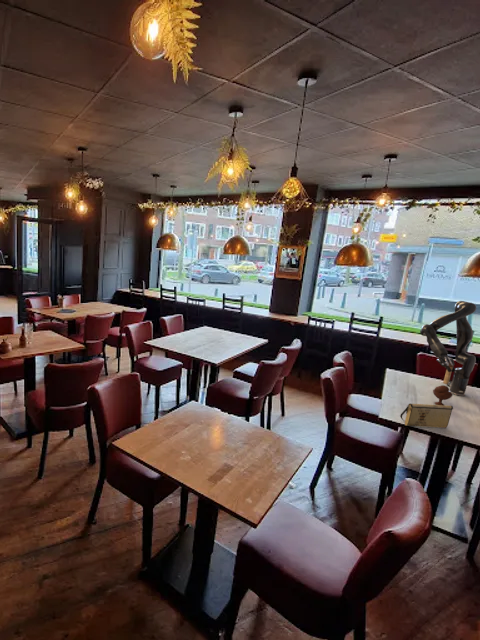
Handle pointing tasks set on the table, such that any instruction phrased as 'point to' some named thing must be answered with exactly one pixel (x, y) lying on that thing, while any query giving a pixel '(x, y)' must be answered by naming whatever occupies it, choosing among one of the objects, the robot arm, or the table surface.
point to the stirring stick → (447, 375)
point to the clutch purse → (427, 415)
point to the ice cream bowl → (442, 394)
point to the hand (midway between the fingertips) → (452, 371)
